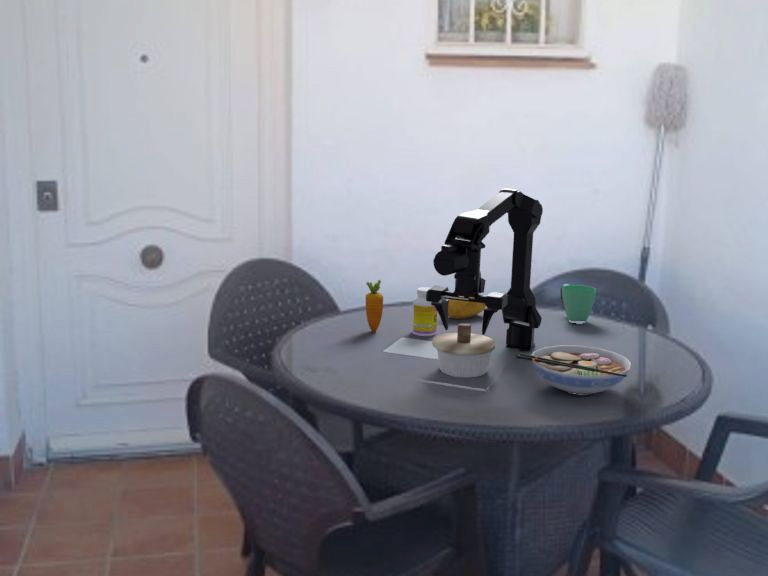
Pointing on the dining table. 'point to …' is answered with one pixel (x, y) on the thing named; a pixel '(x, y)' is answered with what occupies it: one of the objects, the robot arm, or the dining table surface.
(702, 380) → the dining table surface
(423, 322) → the supplement bottle
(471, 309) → the potato
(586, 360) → the ramen bowl
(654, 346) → the dining table surface
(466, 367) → the ramekin
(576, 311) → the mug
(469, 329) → the lid
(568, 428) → the dining table surface
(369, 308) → the carrot
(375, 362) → the dining table surface
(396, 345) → the mat
